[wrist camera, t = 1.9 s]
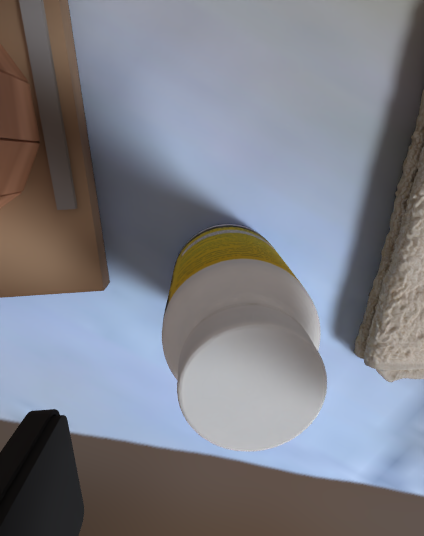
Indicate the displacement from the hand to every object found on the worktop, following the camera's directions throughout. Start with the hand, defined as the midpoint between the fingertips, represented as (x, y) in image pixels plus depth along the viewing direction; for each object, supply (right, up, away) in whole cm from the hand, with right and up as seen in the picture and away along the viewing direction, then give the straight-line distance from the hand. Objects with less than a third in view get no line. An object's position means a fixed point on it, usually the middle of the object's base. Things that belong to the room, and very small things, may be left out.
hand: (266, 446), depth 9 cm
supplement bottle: (-1, +4, +10) cm, 11 cm away
